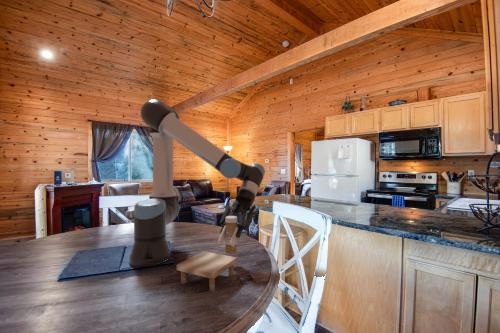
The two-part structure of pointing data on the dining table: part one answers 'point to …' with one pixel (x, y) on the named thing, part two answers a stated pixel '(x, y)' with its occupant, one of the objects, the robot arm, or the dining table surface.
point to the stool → (207, 266)
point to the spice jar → (230, 234)
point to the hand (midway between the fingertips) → (225, 243)
